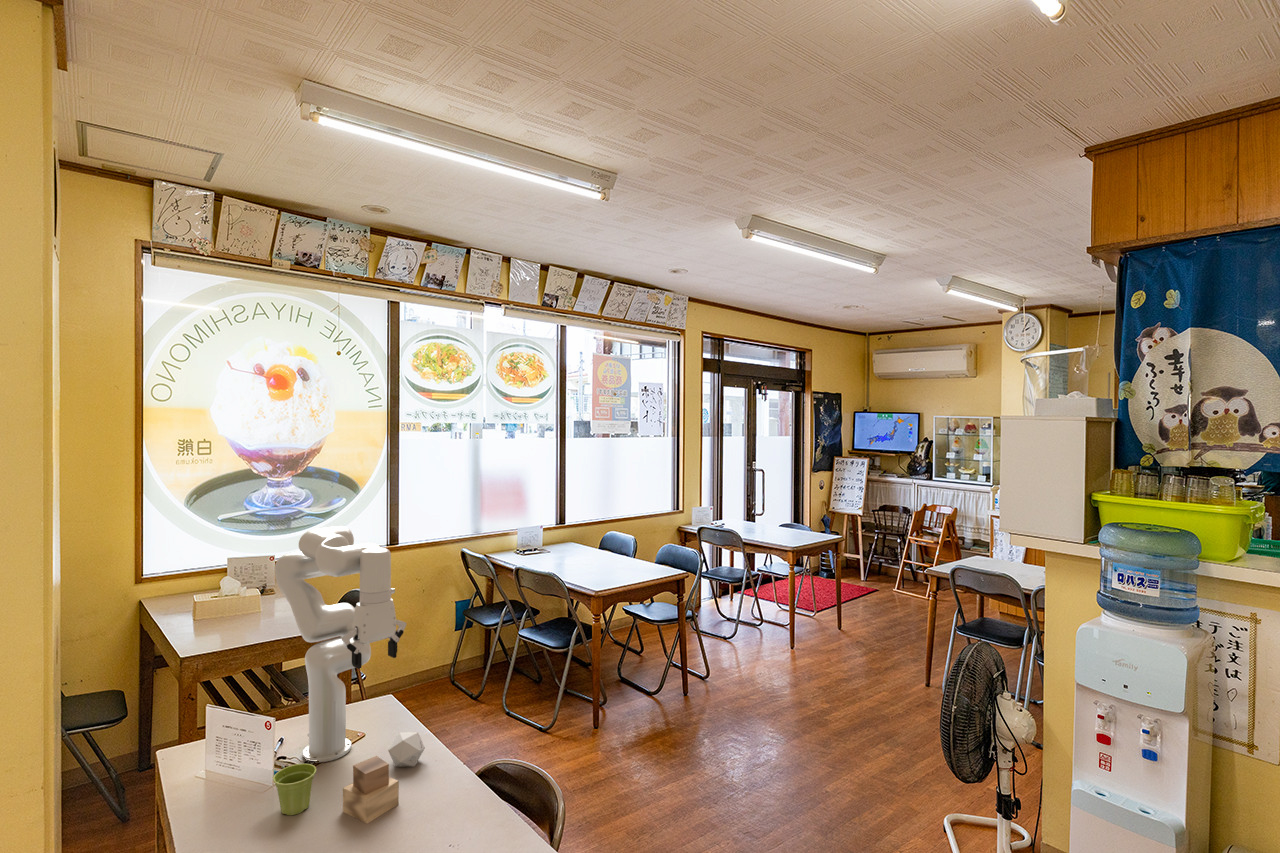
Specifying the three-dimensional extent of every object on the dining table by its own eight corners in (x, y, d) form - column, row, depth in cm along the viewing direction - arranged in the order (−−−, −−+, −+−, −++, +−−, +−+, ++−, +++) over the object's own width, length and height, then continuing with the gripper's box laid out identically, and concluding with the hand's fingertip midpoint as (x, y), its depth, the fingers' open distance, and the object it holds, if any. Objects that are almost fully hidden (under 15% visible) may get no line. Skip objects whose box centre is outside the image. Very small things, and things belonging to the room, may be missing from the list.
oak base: (342, 812, 160) (343, 788, 160) (374, 794, 168) (374, 770, 168) (367, 824, 156) (367, 799, 156) (398, 804, 163) (398, 780, 163)
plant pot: (272, 824, 155) (272, 787, 155) (273, 803, 163) (273, 768, 163) (316, 813, 159) (316, 778, 159) (315, 793, 168) (315, 759, 168)
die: (403, 778, 176) (426, 743, 179) (376, 758, 178) (400, 724, 181) (412, 773, 184) (435, 740, 187) (387, 754, 186) (410, 721, 189)
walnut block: (353, 785, 161) (353, 765, 161) (376, 775, 166) (376, 755, 166) (365, 794, 157) (365, 774, 157) (388, 784, 162) (388, 763, 162)
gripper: (398, 587, 180) (397, 649, 181) (335, 600, 167) (335, 667, 167) (413, 592, 176) (412, 656, 176) (350, 606, 162) (349, 675, 162)
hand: (375, 661), depth 172 cm, fingers open, 9 cm apart
